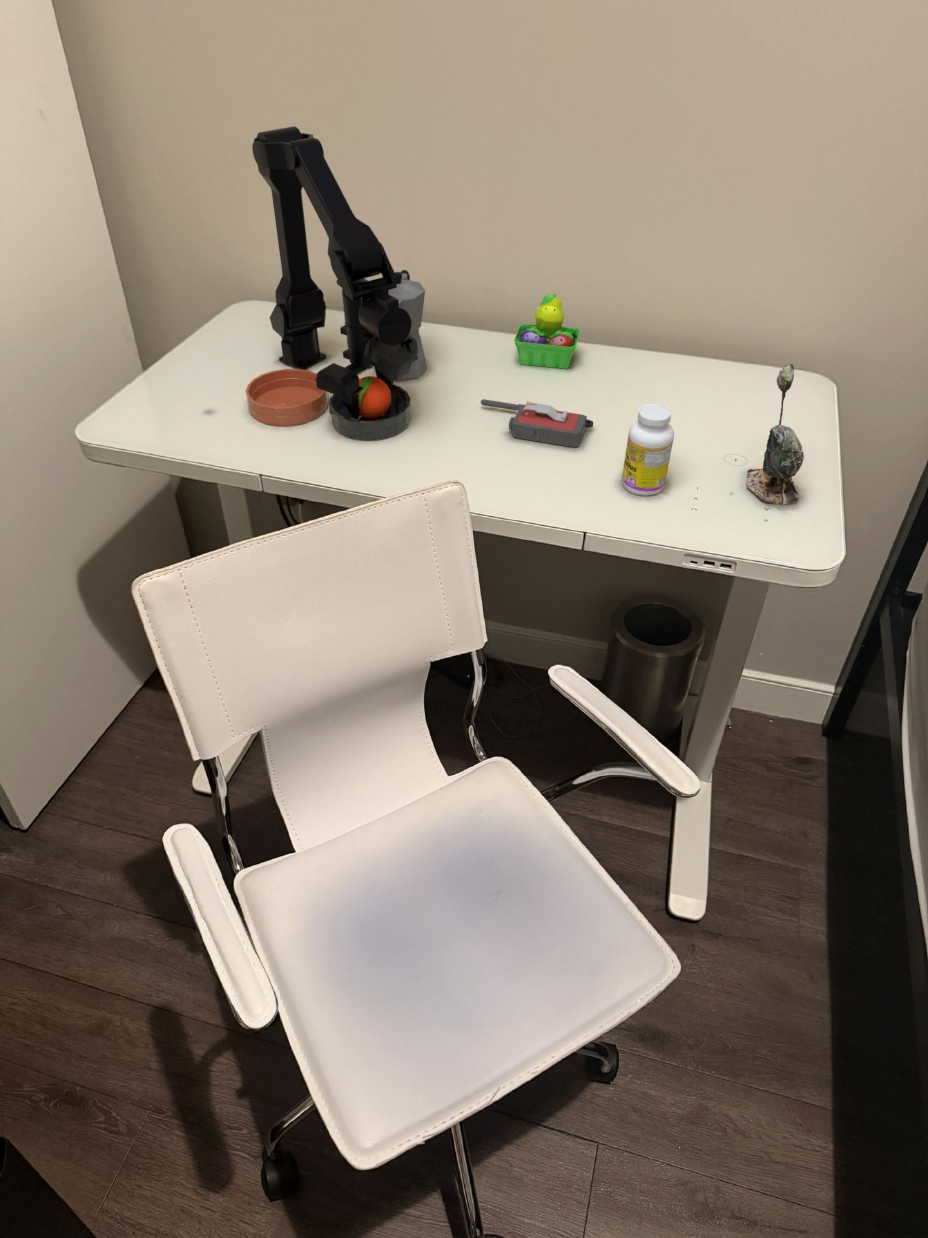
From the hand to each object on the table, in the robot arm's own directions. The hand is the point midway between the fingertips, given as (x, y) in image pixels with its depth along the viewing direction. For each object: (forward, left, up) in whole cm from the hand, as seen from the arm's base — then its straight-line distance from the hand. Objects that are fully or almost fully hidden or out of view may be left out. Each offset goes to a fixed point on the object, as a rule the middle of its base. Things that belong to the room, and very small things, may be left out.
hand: (370, 408), depth 150 cm
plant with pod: (-20, +63, -2) cm, 66 cm away
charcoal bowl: (0, 0, -2) cm, 2 cm away
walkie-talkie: (-14, +23, -2) cm, 27 cm away
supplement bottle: (-10, +46, -2) cm, 48 cm away
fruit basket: (-36, +12, -2) cm, 38 cm away
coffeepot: (-18, -8, -2) cm, 19 cm away
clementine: (0, 0, -2) cm, 2 cm away
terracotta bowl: (+5, -15, -2) cm, 16 cm away
